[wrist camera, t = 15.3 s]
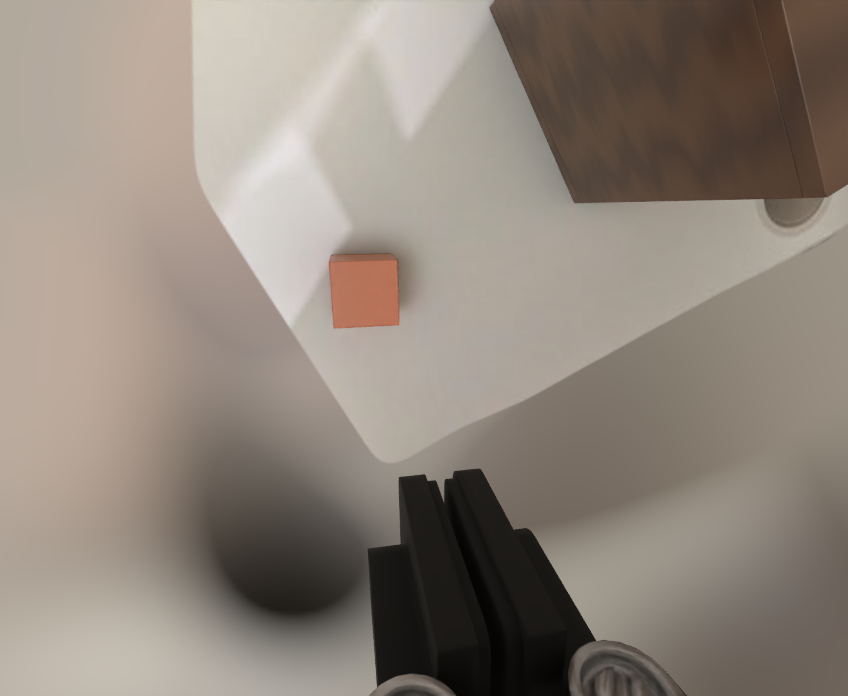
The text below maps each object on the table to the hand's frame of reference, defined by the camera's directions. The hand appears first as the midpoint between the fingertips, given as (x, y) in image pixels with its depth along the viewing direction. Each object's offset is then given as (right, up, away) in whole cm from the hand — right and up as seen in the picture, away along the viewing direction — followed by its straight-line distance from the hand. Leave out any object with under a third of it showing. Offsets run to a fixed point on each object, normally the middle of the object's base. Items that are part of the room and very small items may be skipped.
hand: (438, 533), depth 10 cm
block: (-6, +10, +33) cm, 35 cm away
